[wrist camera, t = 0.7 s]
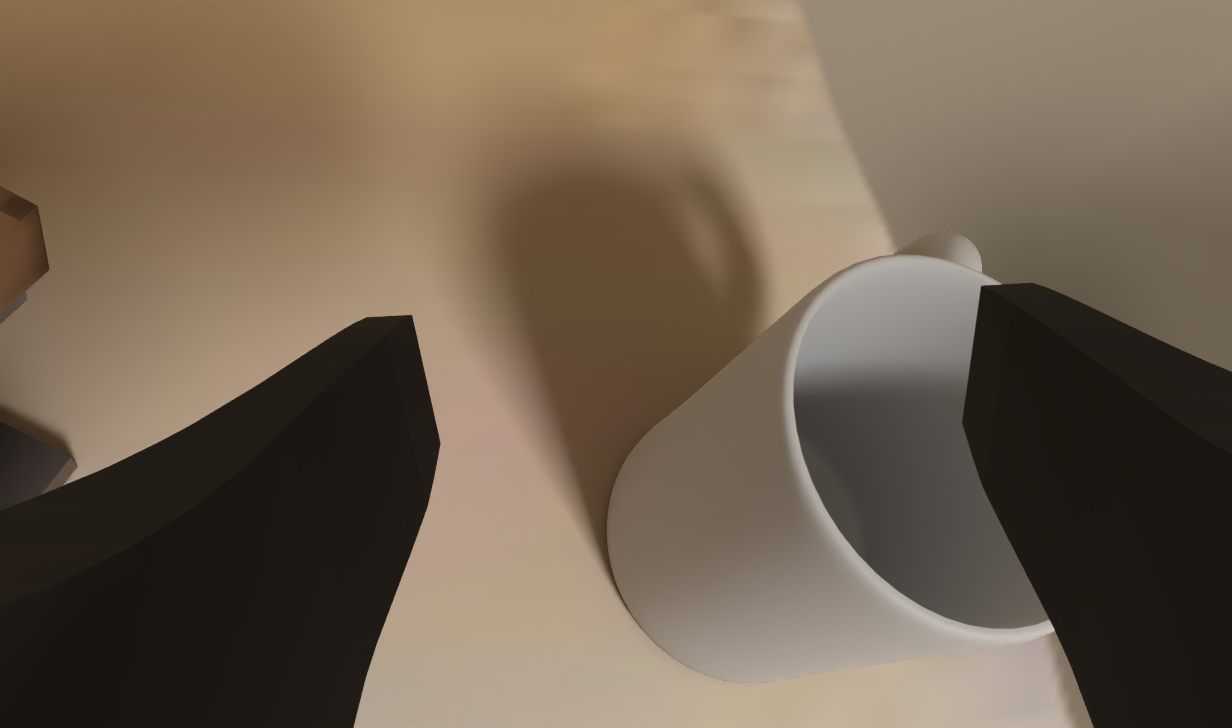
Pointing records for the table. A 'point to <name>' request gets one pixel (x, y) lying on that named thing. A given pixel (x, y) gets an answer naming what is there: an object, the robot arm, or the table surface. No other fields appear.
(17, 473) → the stand
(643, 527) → the mug
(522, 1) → the table surface
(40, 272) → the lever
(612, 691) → the table surface
